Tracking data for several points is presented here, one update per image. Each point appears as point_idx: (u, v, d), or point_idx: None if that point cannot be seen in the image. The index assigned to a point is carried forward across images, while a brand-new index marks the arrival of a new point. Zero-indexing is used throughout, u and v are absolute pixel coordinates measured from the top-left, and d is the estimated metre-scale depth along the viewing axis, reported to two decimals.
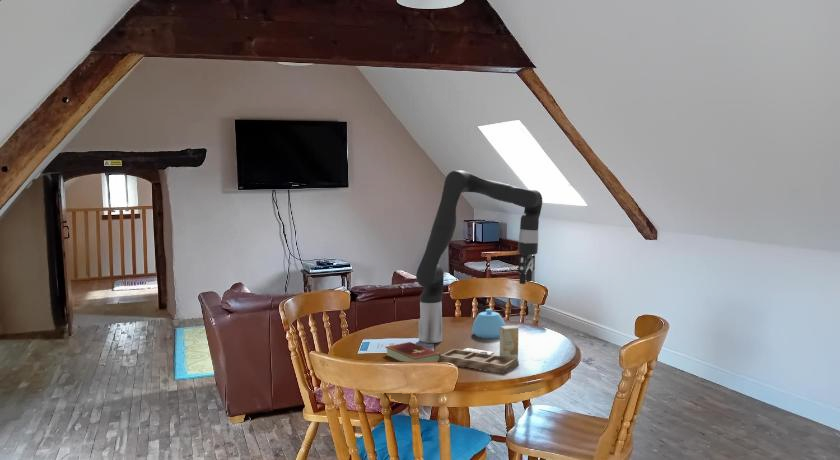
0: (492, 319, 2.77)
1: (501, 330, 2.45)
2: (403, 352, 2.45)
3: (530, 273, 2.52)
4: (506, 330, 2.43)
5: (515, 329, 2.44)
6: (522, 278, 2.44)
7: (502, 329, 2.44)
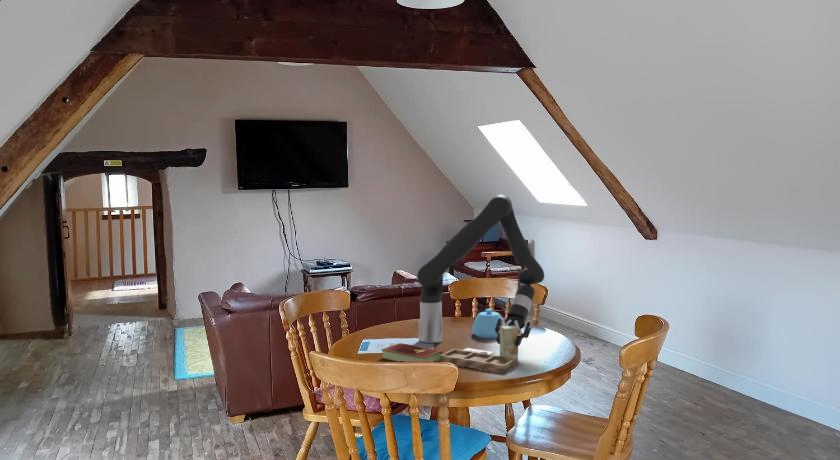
0: (492, 319, 2.77)
1: (501, 330, 2.45)
2: (406, 353, 2.43)
3: None
4: (506, 330, 2.43)
5: (515, 329, 2.44)
6: (520, 341, 2.44)
7: (502, 329, 2.44)
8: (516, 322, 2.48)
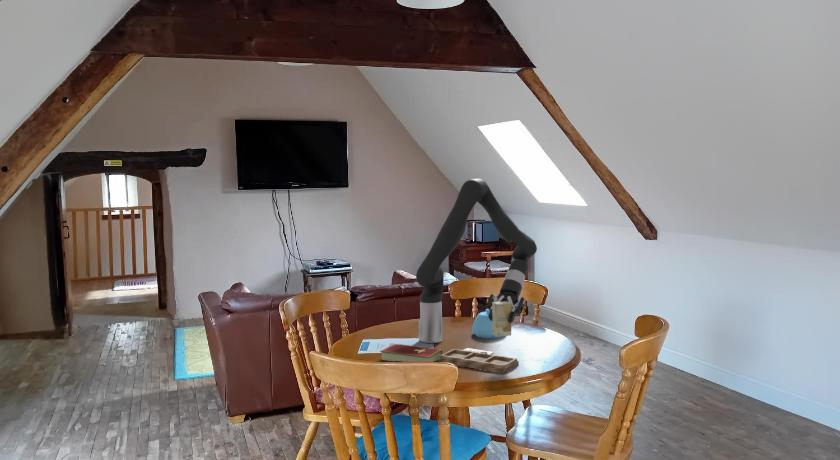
0: None
1: (493, 306, 2.35)
2: (407, 353, 2.43)
3: None
4: (499, 306, 2.32)
5: (508, 305, 2.33)
6: (514, 317, 2.33)
7: (494, 305, 2.34)
8: (509, 298, 2.37)
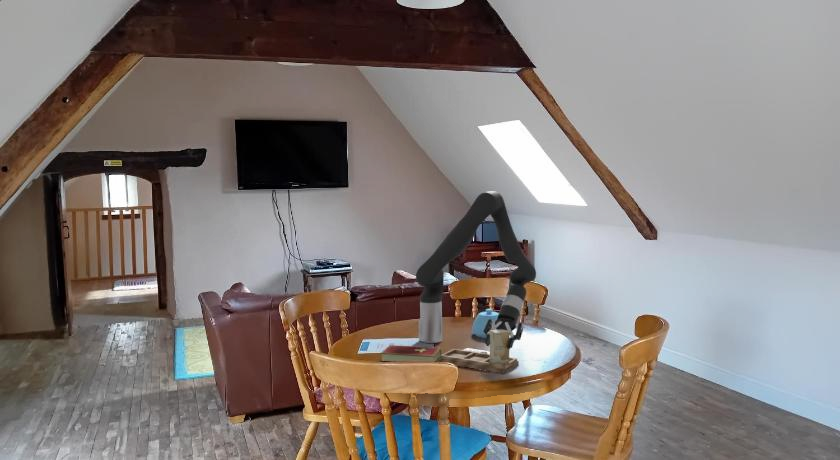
0: (492, 319, 2.77)
1: (491, 334, 2.33)
2: (410, 353, 2.42)
3: None
4: (496, 334, 2.31)
5: (506, 333, 2.32)
6: (512, 343, 2.31)
7: (492, 333, 2.32)
8: (507, 324, 2.35)
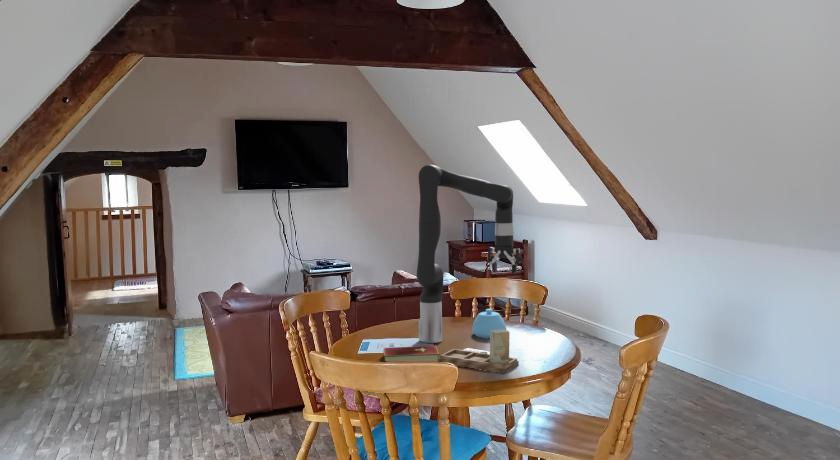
0: (492, 319, 2.77)
1: (491, 334, 2.33)
2: (414, 353, 2.42)
3: (496, 264, 2.66)
4: (496, 334, 2.31)
5: (506, 333, 2.32)
6: (516, 268, 2.61)
7: (492, 333, 2.32)
8: (505, 252, 2.61)
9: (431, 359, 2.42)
